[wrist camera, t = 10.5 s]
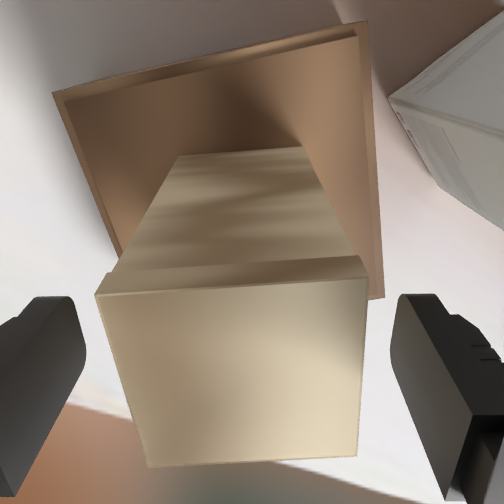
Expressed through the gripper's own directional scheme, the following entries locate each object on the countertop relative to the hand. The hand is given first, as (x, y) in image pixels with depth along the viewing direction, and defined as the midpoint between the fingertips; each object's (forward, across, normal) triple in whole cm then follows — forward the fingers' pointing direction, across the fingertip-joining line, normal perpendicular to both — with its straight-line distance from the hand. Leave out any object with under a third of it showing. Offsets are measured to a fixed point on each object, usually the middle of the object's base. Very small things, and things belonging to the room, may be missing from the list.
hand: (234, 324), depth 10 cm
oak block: (+8, 0, 0) cm, 8 cm away
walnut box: (+13, 0, 0) cm, 13 cm away
